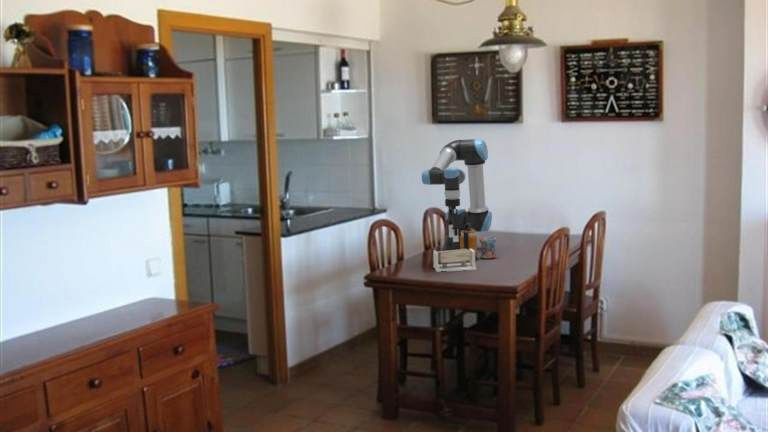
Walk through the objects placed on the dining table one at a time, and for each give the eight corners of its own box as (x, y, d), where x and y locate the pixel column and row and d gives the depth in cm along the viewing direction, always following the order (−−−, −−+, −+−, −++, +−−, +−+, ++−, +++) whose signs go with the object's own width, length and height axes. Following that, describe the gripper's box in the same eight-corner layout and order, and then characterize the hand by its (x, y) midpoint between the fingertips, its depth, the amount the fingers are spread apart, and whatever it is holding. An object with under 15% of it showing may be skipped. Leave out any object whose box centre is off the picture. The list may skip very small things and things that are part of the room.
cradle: (433, 266, 415) (432, 249, 414) (471, 264, 416) (470, 247, 415) (436, 272, 401) (436, 254, 400) (476, 270, 402) (475, 252, 401)
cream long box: (437, 261, 409) (437, 251, 408) (466, 258, 413) (466, 248, 412) (441, 263, 403) (441, 253, 402) (470, 260, 407) (470, 250, 406)
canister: (478, 258, 434) (478, 221, 431) (474, 262, 423) (473, 224, 421) (462, 257, 437) (461, 221, 434) (458, 261, 426) (457, 224, 424)
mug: (493, 259, 427) (493, 240, 426) (477, 259, 431) (476, 239, 430) (500, 255, 438) (500, 236, 437) (484, 255, 442) (483, 236, 441)
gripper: (441, 195, 416) (443, 235, 419) (448, 201, 391) (450, 244, 394) (455, 195, 416) (457, 234, 419) (463, 200, 392) (465, 243, 395)
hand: (453, 239), depth 407 cm, fingers open, 13 cm apart
